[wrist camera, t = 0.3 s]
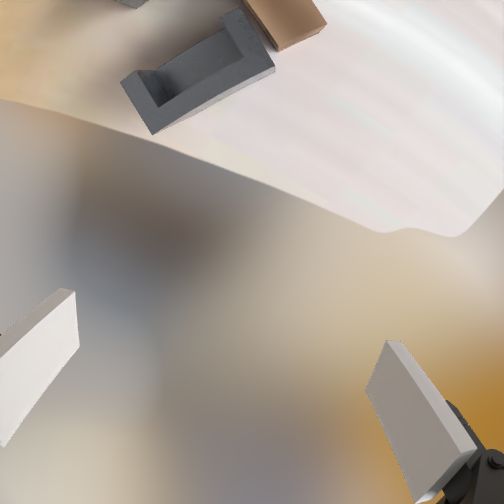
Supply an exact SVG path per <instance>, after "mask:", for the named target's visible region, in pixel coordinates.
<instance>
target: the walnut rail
mask: <svg viewBox="0 0 504 504" xmlns="http://www.w3.org/2000/svg"><path fill="white" fill-rule="evenodd" d="M242 1H243V2H244V4H245V5H246V7H247V8H248V9H249V11H250V12H251V13H252V15H253V16H254V18H255V19H256V20H257V22H258V23H259V25H260V26H261V28H262V29H263V30H264V32H265V33H266V35H267V36H268V38H269V39H270V41H271V42H272V44H273V45H274V47H275V48H276V50H277V51H278V52H280V51H282V50H284V49H286V48H288V47H290V46H292V45H294V44H296V43H298V42H300V41H302V40H305V39H307V38H309V37H311V36H313V35H316V34H318V33H319V32H320V31H321V30H322V29H323V28H324V27H325V26H326V25H327V22H326V21H325V19H324V18H323V16H322V15H321V13H320V12H319V10H318V9H317V7H316V6H315V4H314V3H313V2H312V0H242Z"/></svg>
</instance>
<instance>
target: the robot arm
mask: <svg viewBox="0 0 504 504" xmlns="http://www.w3.org/2000/svg"><path fill="white" fill-rule="evenodd" d="M78 348H79V337H78V326H77V314H76V300H75V291H72V290H68V289H64V288H59V289H58V290H57V291H55V292H54V293H53V294H51V295H50V296H49V297H48V298H46V299H45V300H44V301H42V302H41V303H40V304H39V305H38V306H36V307H35V308H34V309H33V310H31V311H30V312H29V313H28V314H26V315H25V316H24V317H23V318H21V319H20V320H19V321H18V322H16V323H15V324H14V325H13V326H12V327H10V328H9V329H8V330H7V331H6V332H5V333H3V334H2V335H1V334H0V445H1V446H2V447H5V446H6V444H7V443H8V441H9V440H10V438H11V437H12V435H13V434H14V432H15V431H16V430H17V428H18V427H19V425H20V424H21V422H22V421H23V420H24V418H25V417H26V415H27V414H28V413H29V411H30V410H31V409H32V407H33V406H34V404H35V403H36V402H37V400H38V399H39V398H40V396H41V395H42V394H43V392H44V391H45V390H46V388H47V387H48V386H49V384H50V383H51V382H52V381H53V379H54V378H55V377H56V375H57V374H58V373H59V372H60V370H61V369H62V368H63V366H64V365H65V364H66V363H67V361H68V360H69V359H70V357H71V356H72V355H73V354H74V353H75V351H76V350H77V349H78ZM365 391H366V393H367V395H368V397H369V399H370V401H371V403H372V406H373V408H374V410H375V412H376V414H377V417H378V419H379V421H380V423H381V425H382V428H383V430H384V432H385V434H386V436H387V439H388V441H389V443H390V445H391V447H392V450H393V452H394V455H395V457H396V459H397V462H398V464H399V466H400V468H401V471H402V473H403V476H404V478H405V480H406V482H407V485H408V487H409V490H410V492H411V495H412V497H413V499H414V502H415V503H420V502H423V501H427V500H431V499H433V498H434V497H435V496H436V495H437V494H438V493H439V492H440V491H441V490H443V492H444V494H445V495H444V496H443V498H441V499H440V500H439V501H438V502H437V503H436V504H504V454H503V453H502V452H499V451H498V450H495V449H489V450H486V449H485V448H484V446H483V445H482V443H481V442H480V440H479V439H478V437H477V436H476V434H475V433H474V432H473V430H472V429H471V427H470V426H468V423H467V421H466V420H465V419H464V418H463V416H462V415H461V413H460V412H459V410H458V409H457V408H456V407H455V406H454V405H453V404H451V403H450V402H449V401H448V400H444V398H443V397H442V396H441V394H440V393H439V392H438V390H437V389H436V387H435V386H434V385H433V384H432V382H431V381H430V379H429V378H428V376H427V375H426V374H425V373H424V371H423V370H422V368H421V367H420V366H419V364H418V363H417V362H416V361H415V359H414V358H413V356H412V355H411V354H410V353H409V351H408V350H407V349H406V347H405V346H404V345H403V343H402V342H401V341H391V340H386V342H385V345H384V347H383V350H382V352H381V355H380V357H379V359H378V362H377V364H376V366H375V369H374V371H373V373H372V376H371V378H370V380H369V382H368V385H367V387H366V389H365Z"/></svg>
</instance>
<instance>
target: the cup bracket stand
mask: <svg viewBox="0 0 504 504" xmlns="http://www.w3.org/2000/svg"><path fill="white" fill-rule="evenodd" d="M115 1H118V2H120V3H123V4H125V5H128V6H131V7H133V8H136V9H137V8H138V7H140V6H141V5H143V4H144V3H145V2H147V1H148V0H115ZM220 19H221V21H222V22H223V24H224V25H225V27H226V28H225V29H223V30H221V31H219V32H217V33H215V34H214V35H212V36H210V37H208V38H206V39H205V40H203V41H201V42H199V43H198V44H196V45H194V46H193V47H191V48H189V49H188V50H186V51H184V52H183V53H181V54H179V55H178V56H176V57H175V58H173V59H172V60H170V61H169V62H167V63H165V64H164V65H162V66H161V67H159V68H158V69H157V70H155V71H142V70H135V71H134V72H133V73H131V74H130V75H129V76H127V77H126V78H125V79H123V80H122V81H121V82H120V83H121V85H122V87H123V88H124V90H125V92H126V93H127V95H128V97H129V98H130V100H131V102H132V103H133V105H134V106H135V108H136V110H137V111H138V113H139V115H140V116H141V118H142V119H143V121H144V123H145V124H146V126H147V127H148V129H149V131H150V132H151V134H152V135H154V134H156V133H158V132H160V131H162V130H164V129H166V128H168V127H170V126H172V125H174V124H176V123H178V122H180V121H183V120H185V119H187V118H189V117H191V116H193V115H195V114H197V113H199V112H200V111H202V110H204V109H206V108H207V107H209V106H211V105H213V104H214V103H216V102H218V101H220V100H222V99H223V98H225V97H227V96H229V95H231V94H233V93H234V92H236V91H238V90H240V89H242V88H244V87H246V86H248V85H250V84H252V83H254V82H256V81H258V80H260V79H262V78H264V77H266V76H268V75H270V74H272V73H274V72H275V65H274V63H273V61H272V60H271V58H270V56H269V54H268V53H267V51H266V49H265V48H264V46H263V44H262V43H261V41H260V39H259V38H258V36H257V35H256V33H255V31H254V30H253V28H252V27H251V25H250V23H249V22H248V20H247V19H246V17H245V16H244V14H243V13H242V11H241V10H240V8H237V9H235V10H233V11H231V12H229V13H227V14H225V15H223V16H221V17H220Z"/></svg>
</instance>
